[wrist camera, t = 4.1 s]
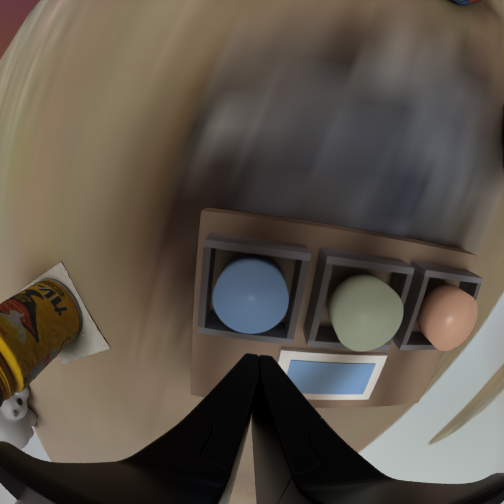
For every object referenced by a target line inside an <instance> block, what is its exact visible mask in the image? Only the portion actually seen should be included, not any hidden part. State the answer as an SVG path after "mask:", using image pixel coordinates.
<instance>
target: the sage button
mask: <svg viewBox="0 0 504 504" xmlns="http://www.w3.org/2000/svg"><path fill="white" fill-rule="evenodd" d="M328 315H329V318H330V321H331V323H332V325H333V327H334V329H335V332H336V334H337V336H338V338H339V340H340V342H341V343H342V344H343V345H344V346H346V347H347V348H349V349H351V350H354V351H370V350H373V349H376V348H378V347H380V346H382V345H384V344H385V343H386V342H388V341H389V340H390V339H391V338H392V337H393V336H394V335H395V333H396V332H397V330H398V329H399V327H400V324H401V322H402V318H403V304H402V301H401V299H400V297H399V295H398V294H397V293H396V292H395V291H394V290H393V289H392V288H391V287H390V286H388V285H387V284H386V283H385V282H384V281H383V280H382V279H381V278H379V277H378V276H376V275H373V274H369V273H361V274H356V275H353V276H350V277H348V278H347V279H345V280H344V281H342V282H341V283H340V284H339V285H338V286H337V287H336V289H335V290H334V291H333V293H332V295H331V297H330V300H329V304H328Z"/></svg>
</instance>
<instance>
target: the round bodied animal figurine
mask: <svg viewBox="0 0 504 504" xmlns="http://www.w3.org/2000/svg"><path fill="white" fill-rule="evenodd" d="M28 396H29V389H28V387H26V388H25V389H24V390H23V391H22V392H20V393H14V394H13V395H12V396H11V397H10V398H9V399H8V400H5V401H4V402H3V404H2V406H1V407H0V441H5V442H8V443H10V444H12V445H14V446H15V447H17V448H18V449H22V448H24V447H25V446H26V445H27V443H28V441H29V439H30V438H31V437H32V436H33V434H34V431H33V429H32V427H31V426H33V425H35V424H36V422H37V416H36V414H35V413H34V411H32V410H31V409H29V408H28V406H27V398H28Z"/></svg>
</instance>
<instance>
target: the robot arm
mask: <svg viewBox="0 0 504 504" xmlns="http://www.w3.org/2000/svg"><path fill="white" fill-rule="evenodd" d="M251 415H252V417H251ZM250 419H251V421H252V440H253V456H254V471H255V486H256V501H257V504H501V503H502V502H503V501H504V473H496V474H493V475H491V476H489V477H487V478H485V479H483V480H480V481H477V482H473V483H466V484H437V483H422V482H411V481H403V480H397V479H393V478H391V477H388V476H386V475H385V474H383V473H381V472H380V471H379V470H377V469H376V468H375V467H374V466H373V465H371V464H370V463H369V462H368V461H366V460H365V459H364V458H363V457H362V456H361V455H359V454H358V453H357V452H356V451H355V450H354V449H352V448H351V447H350V446H349V445H348V444H347V443H346V442H345V441H344V440H343V439H342V438H340V437H339V436H338V434H337V433H336V432H335V431H334V430H333V429H332V428H331V427H330V426H329V425H328V424H327V422H326V421H325V420H324V419H323V418H322V417H321V415H320V414H319V413H318V412H317V411H316V410H315V408H314V407H313V406H312V405H311V404H310V402H309V401H308V400H307V399H306V398H305V396H304V395H303V394H302V393H301V391H300V390H299V389H298V388H297V387H296V385H295V384H294V383H293V382H292V380H291V379H290V378H289V377H288V375H287V374H286V373H285V372H284V370H283V369H282V368H281V367H280V365H279V364H278V363H277V362H276V360H275V359H274V358H273V357H272V356H269V355H259V356H258V355H257V354H251V353H245V354H244V355H243V357H242V358H241V359H240V360H239V361H238V362H237V363H236V364H235V365H234V367H233V368H232V369H231V370H230V371H229V372H228V373H227V374H226V375H225V376H224V378H223V379H222V380H221V381H220V382H219V383H218V384H217V385H216V386H215V387H214V388H213V389H212V390H211V391H210V392H209V394H208V395H207V396H206V397H205V398H204V399H203V400H202V401H201V402H200V403H199V404H198V405H197V407H195V408H194V409H193V410H192V411H191V412H190V413H189V414H188V415H187V416H186V417H185V418H184V419H183V420H182V421H180V422H179V423H178V424H177V425H176V426H174V427H173V428H172V429H170V430H169V431H168V432H166V433H165V434H164V435H162V436H161V437H159V438H158V439H156V440H155V441H154V442H152V443H151V444H149V445H148V446H146V447H145V448H143V449H142V450H140V451H139V452H137V453H136V454H134V455H132V456H130V457H128V458H126V459H123V460H120V461H116V462H101V463H55V462H48V461H43V460H40V459H37V458H34V457H32V456H30V455H28V454H26V453H25V452H23V451H21V450H20V449H18V448H17V447H15V446H14V445H12V444H10V443H8V442H5V441H0V483H1V484H2V485H3V486H4V487H5V488H6V489H7V490H8V491H9V492H10V493H11V494H12V495H13V496H14V497H15V498H16V499H17V502H16V503H15V504H228V503H229V500H230V496H231V493H232V489H233V485H234V482H235V478H236V474H237V471H238V467H239V463H240V460H241V456H242V452H243V448H244V444H245V440H246V436H247V432H248V428H249V424H250Z"/></svg>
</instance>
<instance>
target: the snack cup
mask: <svg viewBox="0 0 504 504" xmlns="http://www.w3.org/2000/svg"><path fill="white" fill-rule="evenodd" d="M453 1H455V2H456V3H458V4H460V5H466V4H472V3H476V2H479V1H481V0H453Z"/></svg>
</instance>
